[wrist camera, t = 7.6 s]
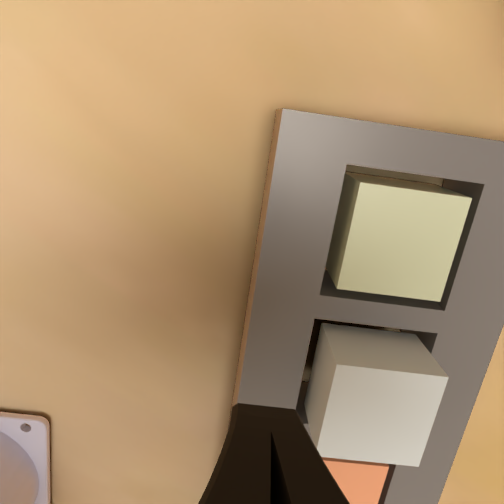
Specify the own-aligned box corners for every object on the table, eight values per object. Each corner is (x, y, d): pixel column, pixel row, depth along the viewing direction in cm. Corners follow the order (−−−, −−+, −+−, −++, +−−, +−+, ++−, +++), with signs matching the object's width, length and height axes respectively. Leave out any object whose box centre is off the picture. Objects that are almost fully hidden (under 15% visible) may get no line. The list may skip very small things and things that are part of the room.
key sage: (322, 261, 18) (336, 288, 16) (341, 171, 17) (360, 182, 14) (410, 273, 19) (440, 301, 16) (435, 184, 17) (472, 198, 14)
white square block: (304, 403, 18) (314, 456, 16) (321, 322, 17) (336, 364, 14) (392, 412, 19) (418, 466, 16) (415, 334, 17) (448, 377, 15)
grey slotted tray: (207, 567, 25) (202, 626, 22) (276, 109, 17) (282, 108, 14) (371, 581, 25) (387, 640, 22) (514, 145, 17) (567, 151, 14)
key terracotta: (279, 473, 22) (284, 526, 19) (291, 410, 21) (299, 457, 18) (352, 480, 22) (368, 533, 19) (369, 419, 21) (389, 467, 18)
